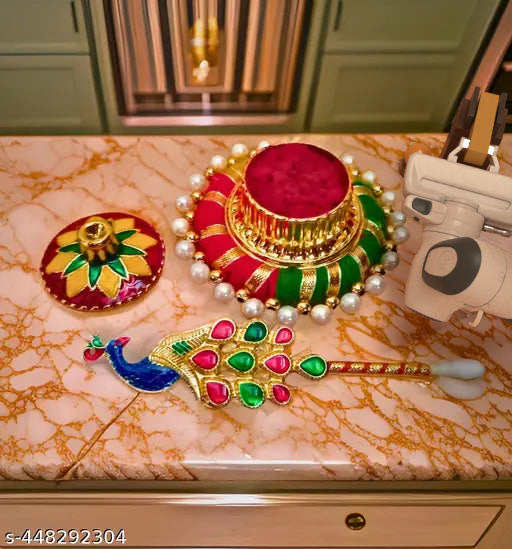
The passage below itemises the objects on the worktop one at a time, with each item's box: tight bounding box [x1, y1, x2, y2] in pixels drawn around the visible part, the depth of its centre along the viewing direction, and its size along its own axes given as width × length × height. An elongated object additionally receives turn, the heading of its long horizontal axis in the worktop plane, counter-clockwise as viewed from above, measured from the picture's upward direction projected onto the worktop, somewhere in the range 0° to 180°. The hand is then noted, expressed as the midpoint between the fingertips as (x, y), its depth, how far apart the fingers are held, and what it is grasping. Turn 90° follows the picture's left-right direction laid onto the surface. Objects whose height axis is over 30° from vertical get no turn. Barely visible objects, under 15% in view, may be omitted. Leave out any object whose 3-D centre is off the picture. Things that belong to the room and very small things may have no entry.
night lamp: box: [398, 142, 433, 178], centre depth 123 cm, size 6×6×7 cm
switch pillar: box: [438, 85, 509, 171], centre depth 109 cm, size 8×8×27 cm
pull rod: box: [464, 91, 500, 166], centre depth 97 cm, size 15×3×3 cm, turn 160°
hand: (479, 142), depth 94 cm, fingers closed on pull rod, 3 cm apart
